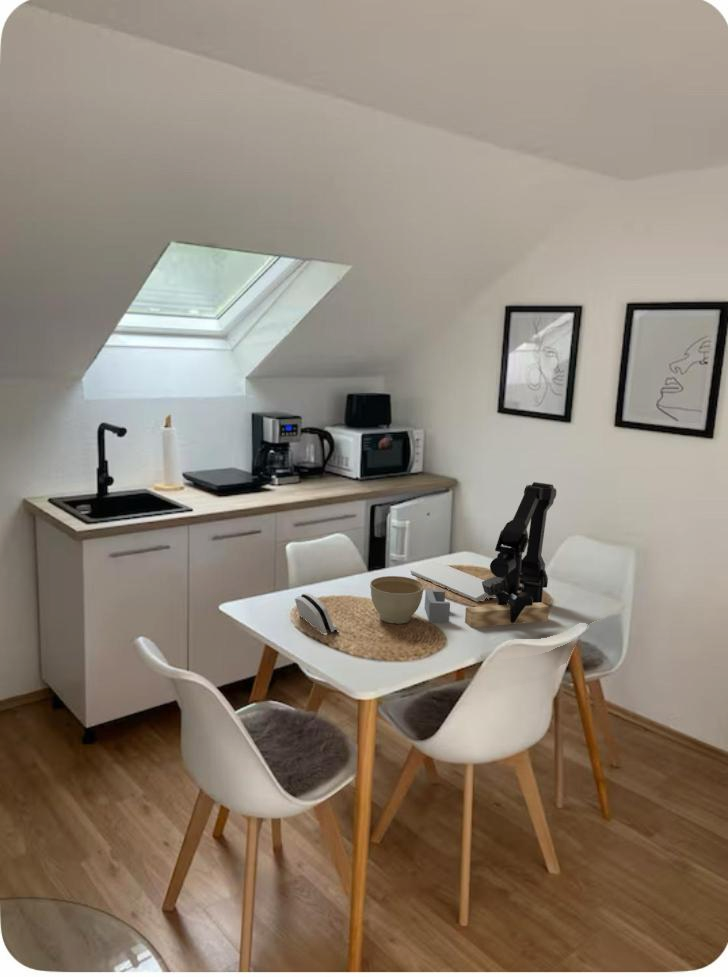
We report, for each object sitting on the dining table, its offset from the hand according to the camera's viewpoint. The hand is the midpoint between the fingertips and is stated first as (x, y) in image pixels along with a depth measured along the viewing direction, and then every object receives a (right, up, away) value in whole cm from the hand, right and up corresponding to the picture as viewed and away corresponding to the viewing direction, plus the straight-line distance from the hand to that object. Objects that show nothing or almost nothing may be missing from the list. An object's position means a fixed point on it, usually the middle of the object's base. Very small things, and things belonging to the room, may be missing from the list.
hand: (507, 618), depth 228 cm
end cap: (-21, 0, +3) cm, 21 cm away
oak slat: (0, -1, 0) cm, 1 cm away
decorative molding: (-13, +5, +32) cm, 35 cm away
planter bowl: (-34, 0, -1) cm, 34 cm away
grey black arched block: (-58, -1, -9) cm, 58 cm away
